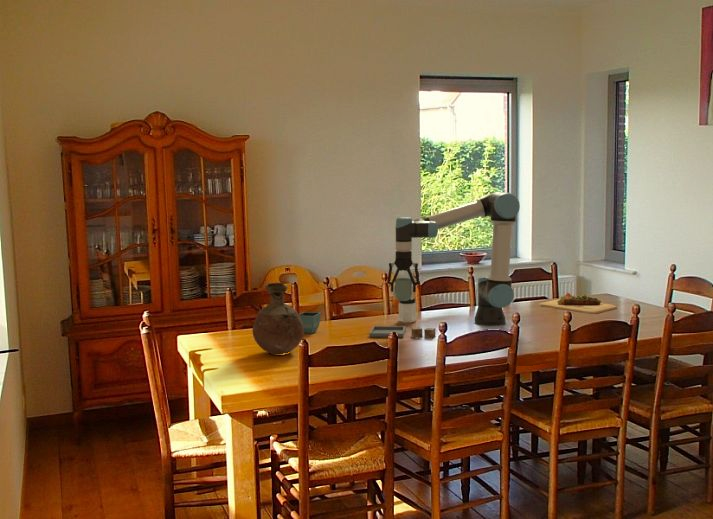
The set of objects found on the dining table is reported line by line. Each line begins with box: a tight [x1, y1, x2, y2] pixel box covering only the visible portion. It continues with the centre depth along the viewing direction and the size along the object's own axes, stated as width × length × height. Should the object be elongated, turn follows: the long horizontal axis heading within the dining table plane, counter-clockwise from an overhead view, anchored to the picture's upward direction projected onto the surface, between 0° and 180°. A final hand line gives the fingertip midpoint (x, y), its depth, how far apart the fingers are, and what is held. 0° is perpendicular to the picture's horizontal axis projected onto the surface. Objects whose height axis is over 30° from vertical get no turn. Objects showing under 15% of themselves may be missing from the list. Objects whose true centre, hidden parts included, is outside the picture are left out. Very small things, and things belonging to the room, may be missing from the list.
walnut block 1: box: [411, 326, 423, 339], centre depth 353 cm, size 4×4×4 cm
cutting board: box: [538, 291, 618, 315], centre depth 415 cm, size 35×23×8 cm
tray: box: [368, 325, 407, 339], centre depth 360 cm, size 16×16×2 cm
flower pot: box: [298, 311, 321, 334], centre depth 367 cm, size 9×9×9 cm
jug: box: [251, 282, 304, 355], centre depth 326 cm, size 22×22×30 cm
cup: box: [394, 277, 413, 301], centre depth 359 cm, size 8×8×10 cm
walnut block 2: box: [423, 327, 436, 339], centre depth 351 cm, size 4×4×4 cm
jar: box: [398, 296, 418, 323], centre depth 388 cm, size 9×8×12 cm
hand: (403, 298), depth 359 cm, fingers closed on cup, 8 cm apart
